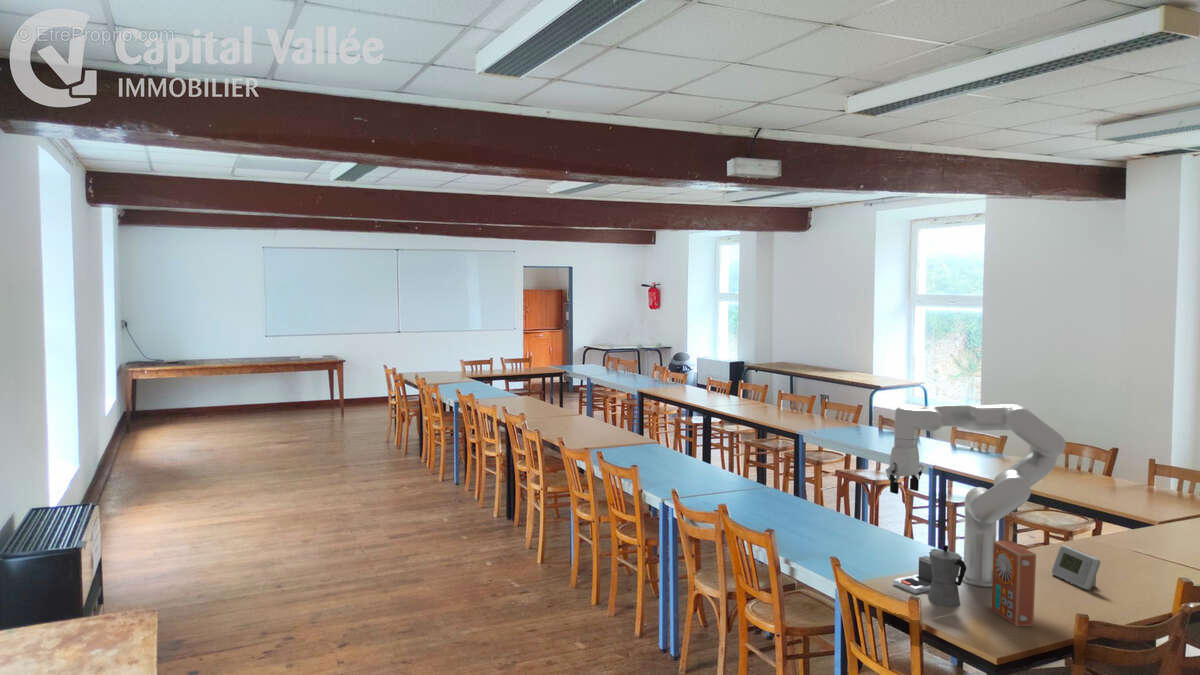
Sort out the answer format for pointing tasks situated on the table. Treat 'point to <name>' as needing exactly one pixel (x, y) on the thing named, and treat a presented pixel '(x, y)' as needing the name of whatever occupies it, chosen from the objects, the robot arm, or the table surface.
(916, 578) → the power strip
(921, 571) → the plug
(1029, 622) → the control panel
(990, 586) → the robot arm
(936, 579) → the coffeepot
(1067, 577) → the digital clock
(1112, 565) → the table surface
